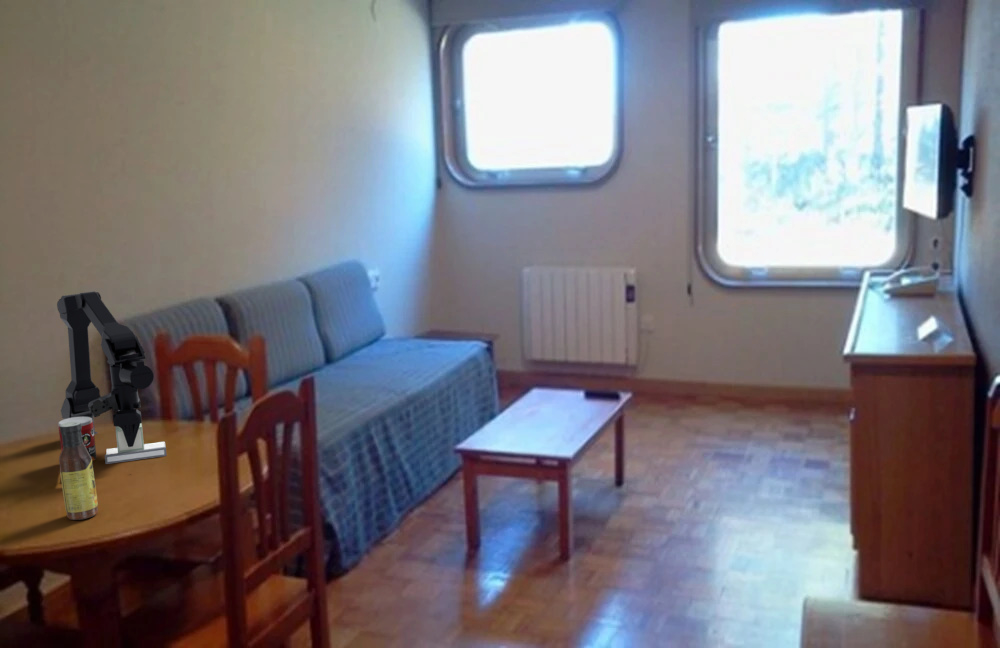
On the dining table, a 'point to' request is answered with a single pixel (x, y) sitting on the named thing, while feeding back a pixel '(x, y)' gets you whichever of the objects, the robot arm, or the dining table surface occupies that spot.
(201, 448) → the dining table surface
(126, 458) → the shelf
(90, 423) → the canned food
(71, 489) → the sauce bottle
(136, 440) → the carton
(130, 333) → the robot arm
